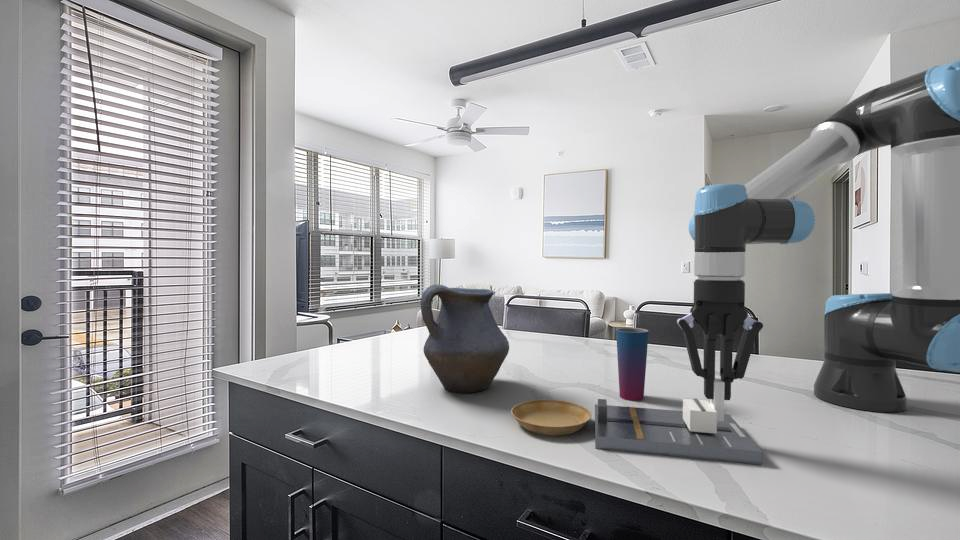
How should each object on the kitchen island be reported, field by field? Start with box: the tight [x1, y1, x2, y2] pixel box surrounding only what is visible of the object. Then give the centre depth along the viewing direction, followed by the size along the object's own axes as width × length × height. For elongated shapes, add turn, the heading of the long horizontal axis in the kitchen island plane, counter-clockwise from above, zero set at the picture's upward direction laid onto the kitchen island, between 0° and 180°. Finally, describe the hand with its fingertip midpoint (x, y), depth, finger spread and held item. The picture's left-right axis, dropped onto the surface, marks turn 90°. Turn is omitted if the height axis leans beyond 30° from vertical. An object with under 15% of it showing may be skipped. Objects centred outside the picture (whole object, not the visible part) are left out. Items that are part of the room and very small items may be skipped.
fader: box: [682, 398, 717, 434], centre depth 75 cm, size 4×6×4 cm, turn 166°
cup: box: [615, 326, 649, 402], centre depth 98 cm, size 7×7×15 cm
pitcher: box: [420, 283, 510, 394], centre depth 105 cm, size 21×22×25 cm
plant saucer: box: [510, 398, 592, 437], centre depth 82 cm, size 15×15×3 cm
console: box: [594, 398, 763, 466], centre depth 77 cm, size 24×16×5 cm, turn 76°
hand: (716, 418), depth 75 cm, fingers closed
